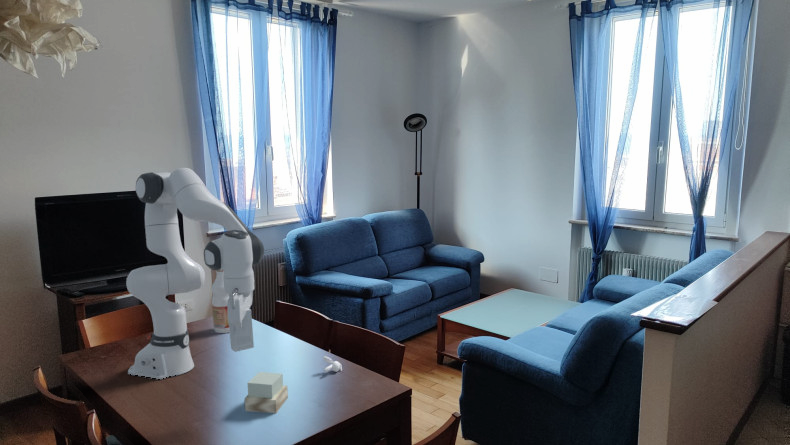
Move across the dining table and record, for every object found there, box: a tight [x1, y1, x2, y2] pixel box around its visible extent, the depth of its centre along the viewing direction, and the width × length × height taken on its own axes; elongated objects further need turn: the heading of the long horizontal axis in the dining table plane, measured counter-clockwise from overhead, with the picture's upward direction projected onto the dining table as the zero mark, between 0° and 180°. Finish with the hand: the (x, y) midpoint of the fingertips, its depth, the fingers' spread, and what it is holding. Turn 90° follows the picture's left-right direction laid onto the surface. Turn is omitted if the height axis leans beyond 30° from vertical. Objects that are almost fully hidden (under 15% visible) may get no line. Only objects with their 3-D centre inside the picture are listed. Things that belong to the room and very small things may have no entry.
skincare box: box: [229, 308, 255, 353], centre depth 164 cm, size 6×4×12 cm
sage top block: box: [247, 371, 284, 399], centre depth 169 cm, size 8×8×4 cm
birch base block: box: [244, 384, 289, 414], centre depth 170 cm, size 10×10×4 cm
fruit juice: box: [211, 270, 230, 334], centre depth 235 cm, size 9×9×28 cm
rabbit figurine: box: [322, 355, 343, 373], centre depth 193 cm, size 6×4×8 cm
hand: (241, 328), depth 164 cm, fingers closed on skincare box, 6 cm apart
